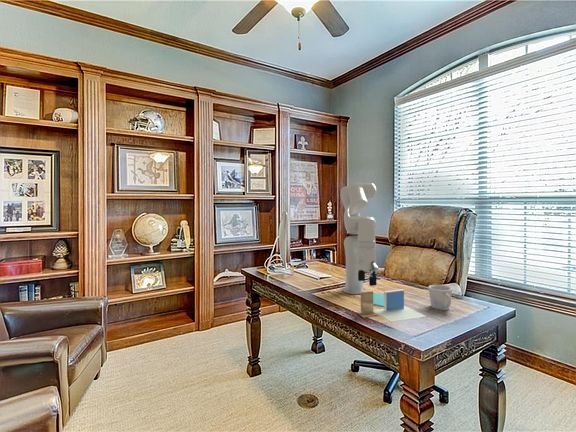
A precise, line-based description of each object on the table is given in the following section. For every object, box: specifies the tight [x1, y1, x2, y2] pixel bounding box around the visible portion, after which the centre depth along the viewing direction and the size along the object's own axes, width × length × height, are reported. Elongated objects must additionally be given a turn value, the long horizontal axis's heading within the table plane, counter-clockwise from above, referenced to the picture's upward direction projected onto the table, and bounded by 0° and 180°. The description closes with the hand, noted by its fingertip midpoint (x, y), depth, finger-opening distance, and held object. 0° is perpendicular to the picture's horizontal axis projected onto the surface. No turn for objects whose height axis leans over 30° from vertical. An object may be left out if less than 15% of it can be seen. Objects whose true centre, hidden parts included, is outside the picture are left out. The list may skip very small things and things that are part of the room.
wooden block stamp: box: [356, 289, 379, 319], centre depth 147 cm, size 6×7×11 cm
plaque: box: [373, 292, 384, 308], centre depth 166 cm, size 18×2×20 cm
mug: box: [428, 284, 453, 311], centre depth 152 cm, size 10×15×10 cm
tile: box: [383, 288, 405, 311], centre depth 152 cm, size 2×10×9 cm, turn 107°
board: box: [373, 305, 427, 322], centre depth 147 cm, size 15×18×1 cm
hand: (367, 282), depth 145 cm, fingers open, 9 cm apart
